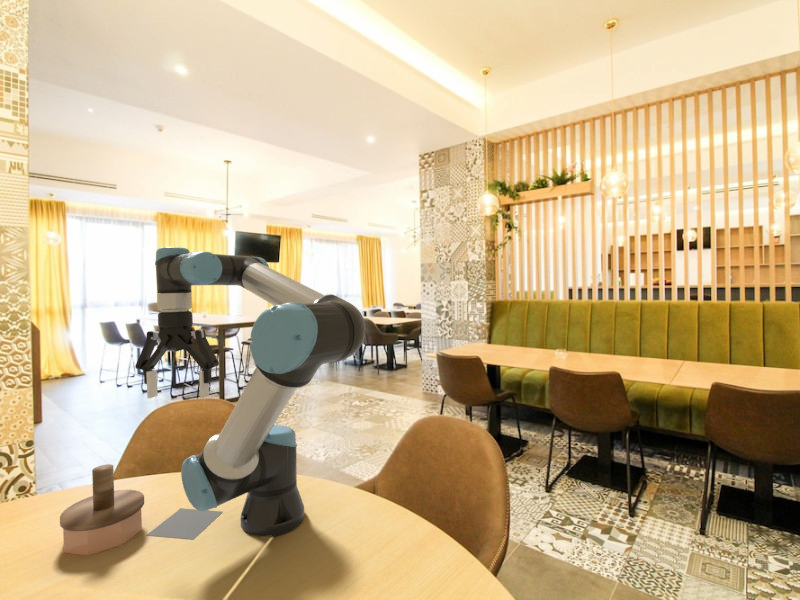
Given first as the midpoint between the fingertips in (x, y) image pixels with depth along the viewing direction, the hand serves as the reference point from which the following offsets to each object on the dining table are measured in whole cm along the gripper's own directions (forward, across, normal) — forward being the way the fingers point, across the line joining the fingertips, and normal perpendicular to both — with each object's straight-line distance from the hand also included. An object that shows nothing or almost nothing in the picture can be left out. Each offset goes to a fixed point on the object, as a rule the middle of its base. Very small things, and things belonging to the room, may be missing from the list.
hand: (178, 396), depth 103 cm
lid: (+25, +14, +8) cm, 30 cm away
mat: (+31, -2, +1) cm, 31 cm away
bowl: (+31, +15, +8) cm, 35 cm away
